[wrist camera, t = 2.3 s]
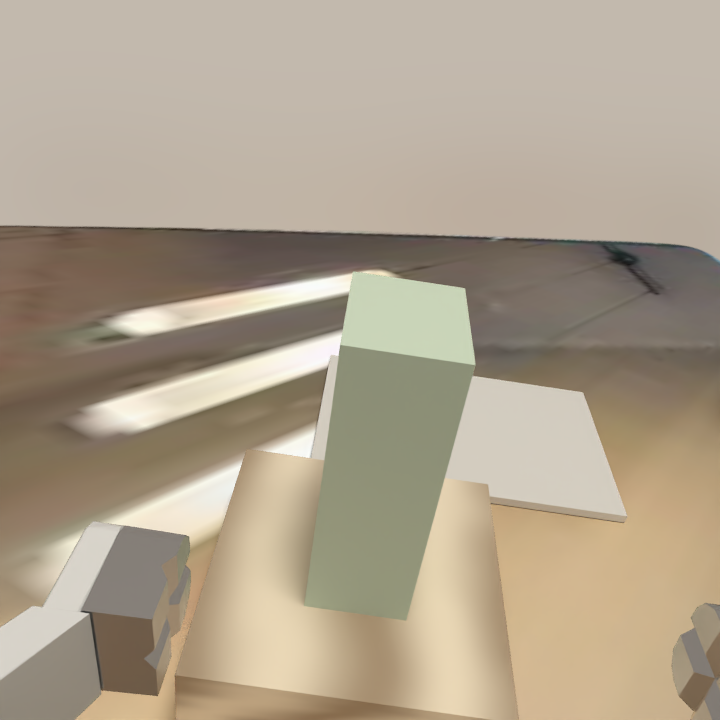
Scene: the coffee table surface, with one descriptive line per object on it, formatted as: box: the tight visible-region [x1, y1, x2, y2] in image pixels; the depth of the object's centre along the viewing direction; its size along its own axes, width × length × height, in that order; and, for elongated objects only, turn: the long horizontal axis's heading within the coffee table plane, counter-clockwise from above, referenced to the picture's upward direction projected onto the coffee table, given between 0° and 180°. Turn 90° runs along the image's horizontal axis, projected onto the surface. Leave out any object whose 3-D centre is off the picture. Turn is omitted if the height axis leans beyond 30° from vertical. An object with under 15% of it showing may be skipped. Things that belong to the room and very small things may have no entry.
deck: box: [175, 449, 519, 720], centre depth 30 cm, size 12×12×4 cm
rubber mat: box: [311, 355, 627, 523], centre depth 43 cm, size 18×12×1 cm, turn 86°
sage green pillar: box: [304, 271, 475, 621], centre depth 25 cm, size 4×5×12 cm
